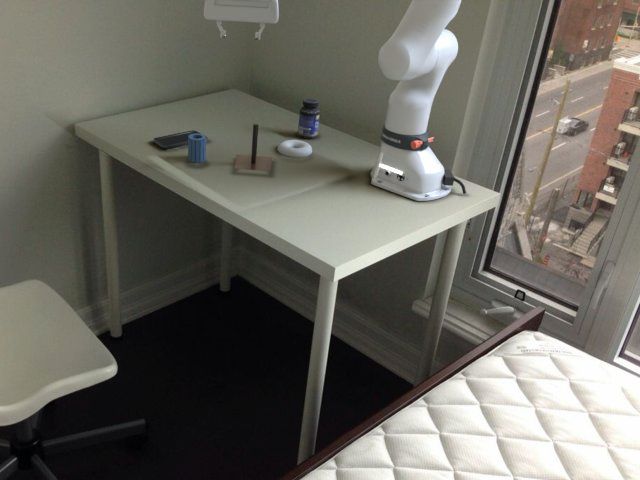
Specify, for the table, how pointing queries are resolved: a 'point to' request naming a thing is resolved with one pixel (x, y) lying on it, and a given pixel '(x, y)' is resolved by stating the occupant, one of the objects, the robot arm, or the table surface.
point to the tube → (197, 148)
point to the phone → (174, 140)
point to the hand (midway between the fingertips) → (240, 38)
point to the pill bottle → (309, 119)
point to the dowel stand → (253, 157)
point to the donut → (294, 148)
